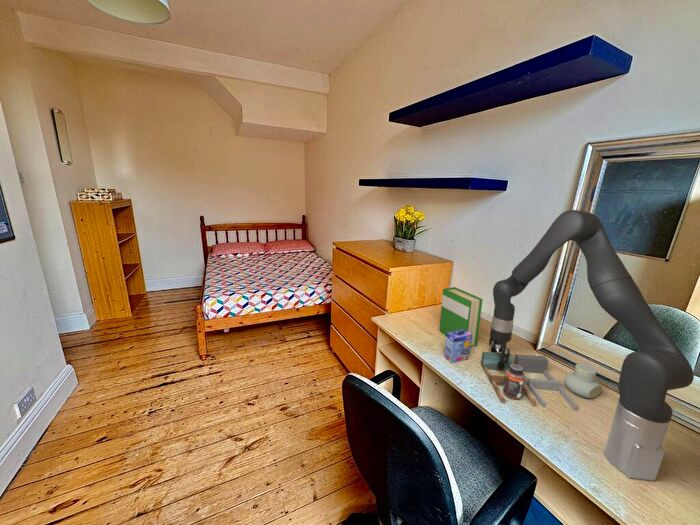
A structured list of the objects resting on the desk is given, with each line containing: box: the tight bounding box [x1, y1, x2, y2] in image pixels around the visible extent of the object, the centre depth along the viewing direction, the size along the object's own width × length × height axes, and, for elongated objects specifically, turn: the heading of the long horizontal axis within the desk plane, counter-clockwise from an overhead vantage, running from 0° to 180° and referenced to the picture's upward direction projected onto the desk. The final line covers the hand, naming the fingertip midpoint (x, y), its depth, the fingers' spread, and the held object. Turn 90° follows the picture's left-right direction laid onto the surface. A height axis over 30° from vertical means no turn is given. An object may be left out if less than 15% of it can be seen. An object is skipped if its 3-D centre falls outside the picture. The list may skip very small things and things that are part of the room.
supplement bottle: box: [502, 364, 526, 400], centre depth 100 cm, size 6×6×11 cm
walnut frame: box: [479, 351, 537, 407], centre depth 107 cm, size 23×11×6 cm, turn 172°
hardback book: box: [439, 286, 483, 348], centre depth 136 cm, size 18×7×24 cm, turn 22°
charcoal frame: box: [513, 353, 579, 411], centre depth 105 cm, size 23×11×6 cm, turn 172°
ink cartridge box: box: [443, 329, 472, 363], centre depth 121 cm, size 10×6×14 cm, turn 111°
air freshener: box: [563, 363, 603, 399], centre depth 102 cm, size 11×8×10 cm
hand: (496, 363), depth 116 cm, fingers open, 8 cm apart
